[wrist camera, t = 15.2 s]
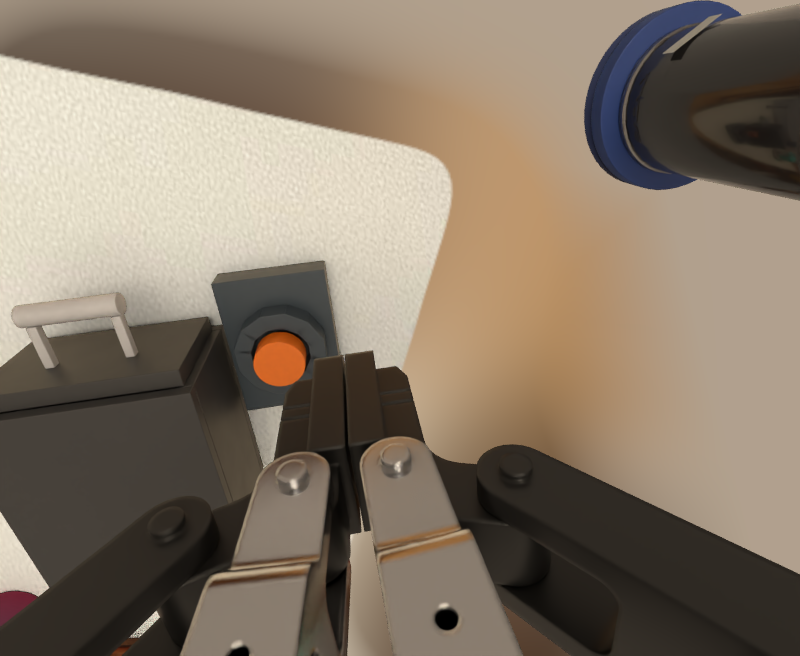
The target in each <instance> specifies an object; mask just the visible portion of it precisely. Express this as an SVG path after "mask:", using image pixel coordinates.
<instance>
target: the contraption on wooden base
mask: <svg viewBox="0 0 800 656" xmlns="http://www.w3.org/2000/svg"><path fill="white" fill-rule="evenodd" d="M138 639H139V638H128V639H127V640H126V641H125V642H123V643H122V644H121V645H120V646H119V647H118V648H117V649H116V650H115V651H114V652H113V653H112V654H111V655H110V656H122V655H123V654H124V653H125V652H126V651H127V650H128V649H129V648H130V647H131V646H132V645H133V644H134V643H135V642H136V641H137V640H138Z"/></svg>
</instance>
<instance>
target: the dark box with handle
mask: <svg viewBox="0 0 800 656" xmlns="http://www.w3.org/2000/svg"><path fill="white" fill-rule="evenodd" d="M125 312H126V301H125V298H124V297H123V295H122V294H121V293H112V294H104V295H96V296H88V297H80V298H73V299H65V300H57V301H49V302H41V303H33V304H26V305H18V306H15V307H14V308H13V309H12V312H11V317H12V320H13V322H14V324H15V325H16V326H17V327H19V328H26V331H27V333H28V335H29V337H30V339H31V341H32V342H31V343H30V344H29V345H27V346H26V347H25V348H24V349H22V350H21V351H20V352H19V353H18V354H16V355H15V356H14V357H13V358H11V359H10V360H9V361H8V362H6V363H5V364H4V365H3V366H2V367H0V412H7V411H14V410H17V411H24V410H31V409H37V408H44V407H51V406H58V405H65V404H72V403H79V402H86V401H93V400H99V399H106V398H113V397H120V396H127V395H134V394H141V393H148V392H155V391H161V390H168V389H175V388H180V387H181V386H184V385H185V383H186V381H187V379H188V377H189V375H190V373H191V371H192V369H193V367H194V365H195V363H196V361H197V359H198V357H199V355H200V353H201V351H202V349H203V348H204V346H205V344H206V342H207V340H208V338H209V336H210V334H211V332H212V328H211V325H210V322H209V318H208V317H204V318H196V319H189V320H181V321H174V322H166V323H159V324H151V325H144V326H136V327H128V324H127V321H126V319H125V316H124V314H125ZM111 316H112V317H111ZM103 317H111V321H112V323H113V326H114V328H115V329H114V330H106V331H99V332H92V333H84V334H77V335H69V336H62V337H54V338H47V336H46V334H45V332H44V330H43V328H42V325H50V324H58V323H65V322H73V321H80V320H88V319H96V318H103ZM17 411H16V412H17Z"/></svg>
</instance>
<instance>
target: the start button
mask: <svg viewBox="0 0 800 656" xmlns="http://www.w3.org/2000/svg"><path fill="white" fill-rule="evenodd" d="M305 366H306V348H305V346H304V344H303V342H302V341H301V340H300V339H299V338H298V337H296V336H295V335H293V334H290V333H287V332H274V333H271V334H269V335H267V336H265V337H264V338H263V339H262V340H261V341H260V342H259V344H258V346H257V349H256V353H255V356H254V359H253V367H254V370H255V373H256V374H257V376H258V377H259V378H260V379H261V380H262V381H264V382H265V383H267V384H270V385H273V386H287V385H290V384H293V383H294V382H295V381H297V380H299V379H300V378H301V376H302V375H303V373H304V371H305Z"/></svg>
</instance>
